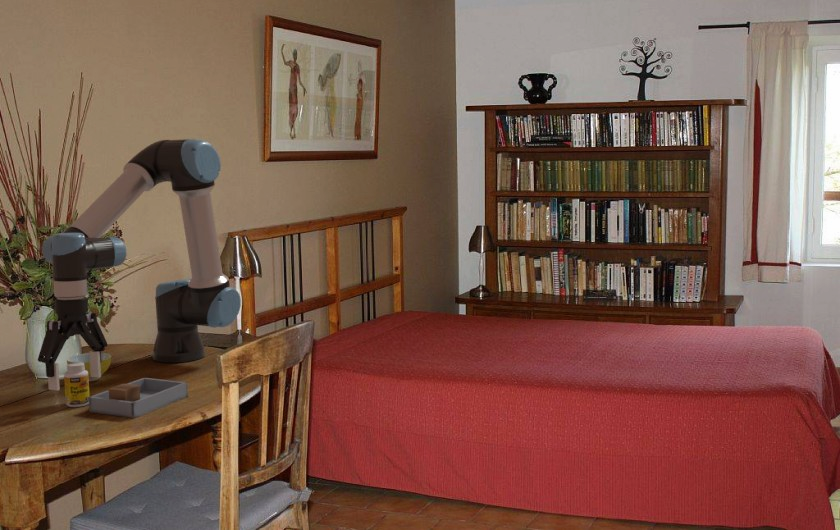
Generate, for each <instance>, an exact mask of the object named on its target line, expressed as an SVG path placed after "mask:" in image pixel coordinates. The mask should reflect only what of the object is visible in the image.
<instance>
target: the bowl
mask: <svg viewBox="0 0 840 530" xmlns="http://www.w3.org/2000/svg"><path fill="white" fill-rule="evenodd" d="M75 362H82V363H84V367H85V370H86V371H88V377H89V383H90V382H95V381H98V380H99V379H100V378H96V377H90V357H89V352H87V353H80V354H76V355H72V356H69V357H67V358H66V363H67V364H66V365H68V364H70V363H75ZM111 362H112V355H111V354H110V353H105V352H101V363H100V367H101V376H102V375H103V374H104V373H105V372H106V371H107V370H108V369H109V367H110V365H111Z"/></svg>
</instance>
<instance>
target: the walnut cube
mask: <svg viewBox="0 0 840 530" xmlns="http://www.w3.org/2000/svg"><path fill="white" fill-rule="evenodd" d="M108 390H109V399H115V400H122V401H130V402H134V401H137V400H140V386H139V385H130V384H128V383H121V384H118V385H116V386H113V387H110V388H108Z"/></svg>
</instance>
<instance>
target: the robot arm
mask: <svg viewBox="0 0 840 530" xmlns="http://www.w3.org/2000/svg"><path fill="white" fill-rule="evenodd" d="M216 149H217V148H215V147H214V146H213V145H212V144H211V143H210V142H208V141H207V140H202V139H195V138H190V139H189V138H187V139H186V138H185V139H161V140H158V141H155V142H153V143H151V144H149V145H147V146H146V147H144V148H142V149H141V150H140V151H139V152H138V153H137V154H135V155H134V156H133V157H132V158H131V159H130V160H129V161H128V162H127V163H126V164H124V166H123V168H122V169H123V172H122V173H121V174H120V175H119V176H118V177H117V178H116V179H115V180H114V181H113V183H111V184H110V185H109V186H108V187H107V188H106V189H105V191H103V193H101V195H99V196H98V198H97V199H95V201H94V202H92V203H91V205H90V206H89V207H88V208H87V209H85V210H84V211H83V212H82V214H80V215H79V216H78V218H77V219H75V221H74V222H72V224H71V225H69V227H68V228H67V229H65V230H64V232H61V233H56V234H54V235H52V236H49V237H47V238H46V239H45V240H44V241H43V244H42V247H41V250H42V251H41V252H42V253H41V254H42V255H43V258H44V260H45V261H46V262H47V263H49V264H52V275H53V292H54V293H53V295H54V297H55V300H54V313H55V314H56V315H57V320H56V321H54V320H47V322H46V332H45V335H44V338H43V340H42V344H41V347H40V351H39V354H38V357H37V361H38V362H40V363H43V364H44V365H45V376H46V377H47V380H48V385H47V386H48V390H49V391H50V390H51V391H60V390H61V389H60V373H59V372H60V370H59V368H60V367H59V362H56V361H57V359H58V358H59V356H60V354H61V351H62V350H63V347H64V346H65V344H66V341H68V340H69V339H70V337H74V336H76V335H79V336H80V337H81V338H82V339H83V340H84V342H85V343H86V344H87V346H88V347H89V348H90V349H91V350H89V351H88V353H89V357H90V377H96V378H99V379H100V378H101V377H102V375H101V367H100V363H101V353H102V352H104V351H105V350H106V348H107V347H108V342H107V339H106V338H105V337H106V336H105V335H104V333H103V331H102V328H101V326H100V324H99V322H98V316H97V313H96V312H89V299H88V297H87V295H88V294H89V293H88V280H87V279H88V277H87V275H88V274H87V271H91V270H99V269H106V268H110V269H112V268H115V267H118V266H121V265H122V264H123V263H124V262H125V261H126V258H127V256H128V255H127V248H126V247H127V246H126V244H125V242H124V241H123V240H122V239H120V238H119V237H116V236H106V237H103V235H104V234H105V233H106V232H107V231H108V230H109V229H110V228H111V227H112V226H113V225H114V224H115V223H116V222H117V221H118V220H119V218H121V217H122V216H123V214H124V213H125V212H126V211H127V210H128V209H129V208H130V207H131V206H132V205H133V204H134V203H135V202H136V201H137V200H138V199H140V196H142V195H143V193H144V192H150V191H151V190H153V189H154V187H156V186H157V185H159V184H162V183H164V182H165V183H166V182H168V183H169V182H170V184H171V189H172V192H173V193H174V194H176V195H177V196H178V197H179V203H180V204H179V205H180V209H181V216H182V223H183V228H184V234H185V241H186V247H187V253H188V254H187V255H188V259H189V265H190V272H191V278H186V279H177V280H170V281H165V282H160V283H158V284H157V286H156V288H155V295H154V296H155V297H154V300H155V311H156V328H157V333H156V334H157V335H156V338H155V341H154V346H153V348H152V359H153V360H154V361H156V362H159V363H184V362H192V361H196V360H200V359H203V358H204V357H205V356H206V348H205V346H204V344H203V340H202V337H201V334H200V332H199V326H203V327H209V328H214V329H215V328H225V327H228V326H230V325H232V323H234V321H236V319H237V316H238V315H239V313H240V309H241V304H242V303H241V302H242V301H241V296H240V293H239V291H237V289H236V288H234V287H232V286H231V285H230V279H229V277H228V276H227V275H226V274H224V273H223V268H222V260H221V255H220V253H221V252H220V248H219V241H218V235H217V229H216V227H217V226H216V222H215V215H214V207H213V203H212V196H211V195H212V194H211V192H212V190H213V189H214V187H216V186H215V185H216V183H215V180H217V178H218V177H219V175H220V173H219V172H221V165H222V164H221V157H220V156H219V153H218V151H217V150H216Z"/></svg>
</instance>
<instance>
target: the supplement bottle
mask: <svg viewBox="0 0 840 530" xmlns="http://www.w3.org/2000/svg"><path fill="white" fill-rule="evenodd" d="M66 369H67V371H65V372H64V374H63V379H64V381H63V382H64V395H65V396H64V397H65V405H66V406H67V407H69V408H82V407H86V406H87V405H88V406H89V397H91V396H90V382H89V377H88V371H86V370H85V367H84V363H82V362H75V363H70V364H66Z"/></svg>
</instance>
